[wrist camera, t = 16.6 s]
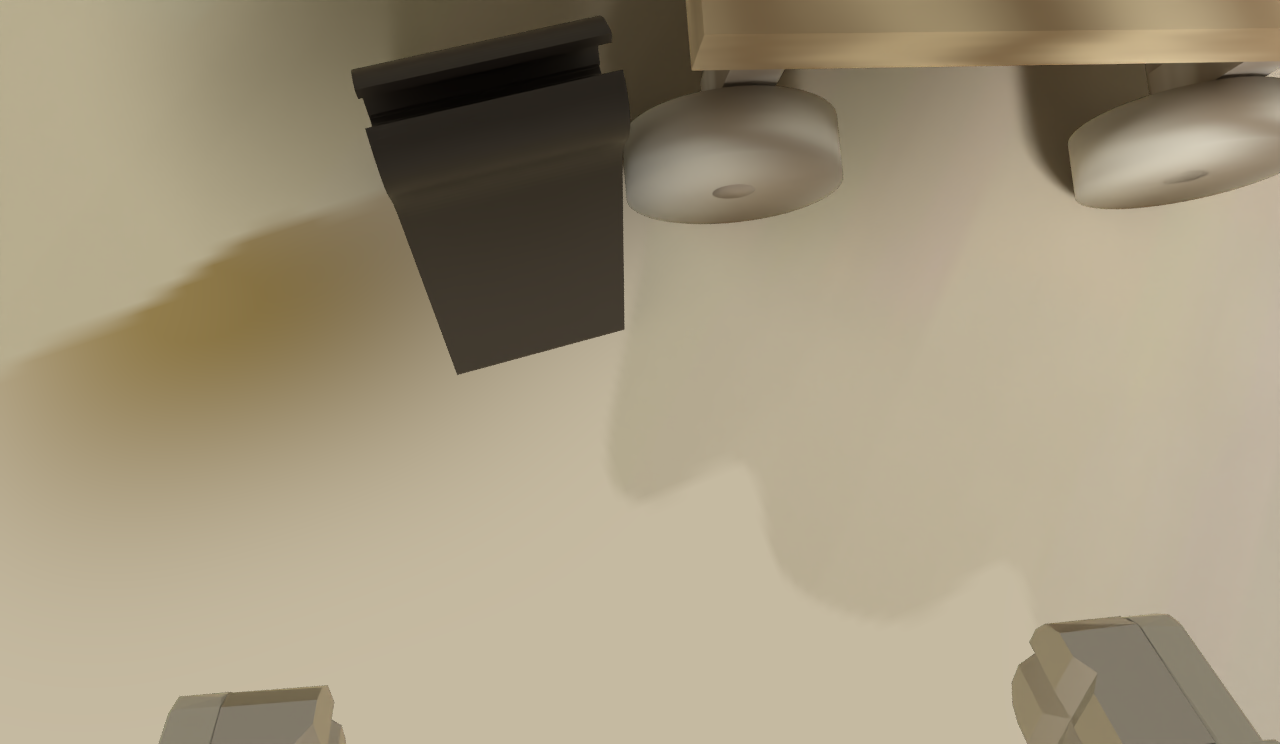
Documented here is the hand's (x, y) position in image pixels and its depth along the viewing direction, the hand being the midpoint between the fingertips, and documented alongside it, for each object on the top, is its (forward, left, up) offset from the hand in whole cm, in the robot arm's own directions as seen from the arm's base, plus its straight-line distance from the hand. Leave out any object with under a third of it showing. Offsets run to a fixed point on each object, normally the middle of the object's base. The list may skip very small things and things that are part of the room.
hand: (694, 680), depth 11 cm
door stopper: (+2, -12, -21) cm, 24 cm away
